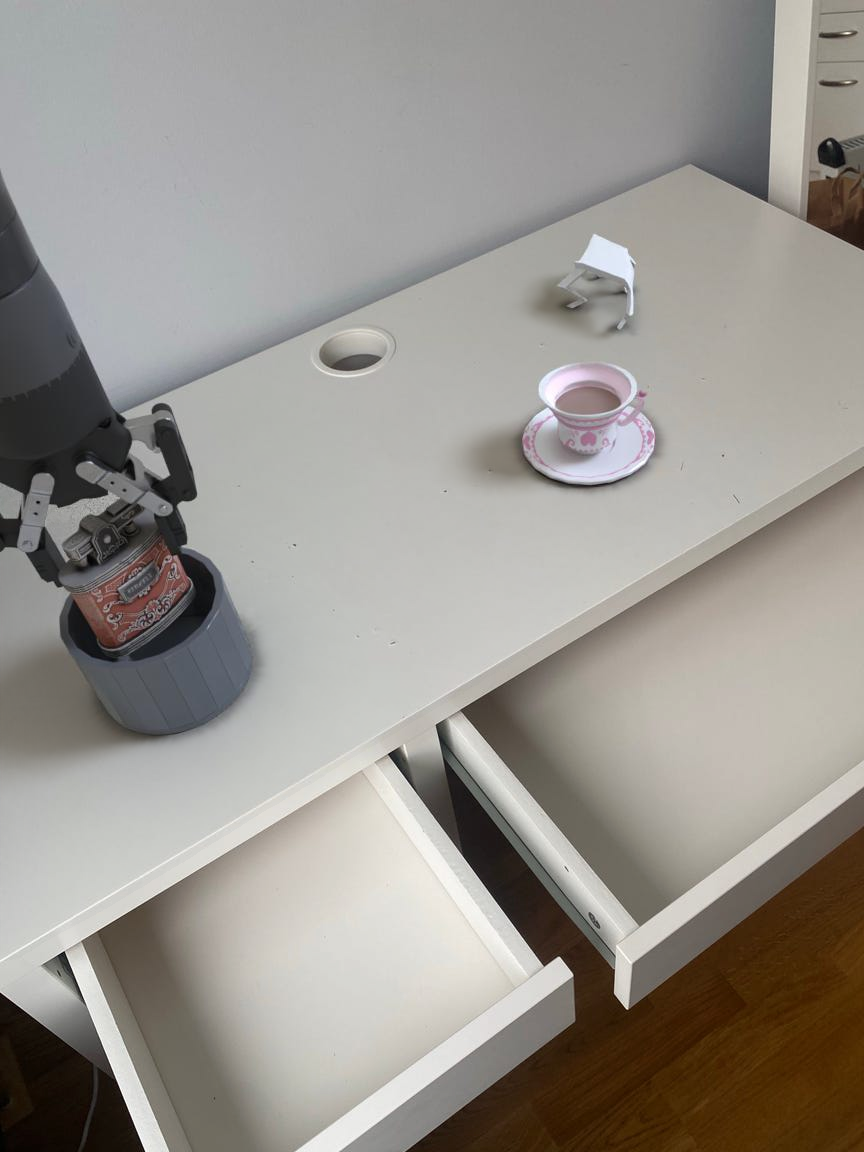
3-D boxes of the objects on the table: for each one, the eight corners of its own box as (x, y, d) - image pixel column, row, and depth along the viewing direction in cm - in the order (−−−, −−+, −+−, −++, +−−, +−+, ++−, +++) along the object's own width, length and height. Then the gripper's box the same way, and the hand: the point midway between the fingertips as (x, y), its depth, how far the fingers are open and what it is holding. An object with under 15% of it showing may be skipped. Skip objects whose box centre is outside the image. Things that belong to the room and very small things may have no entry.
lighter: (121, 665, 68) (62, 566, 60) (91, 644, 69) (30, 545, 61) (206, 593, 72) (161, 491, 64) (176, 575, 73) (128, 473, 65)
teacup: (521, 490, 85) (518, 433, 80) (522, 405, 93) (519, 349, 88) (660, 484, 84) (665, 427, 79) (649, 399, 92) (653, 342, 87)
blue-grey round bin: (107, 754, 71) (62, 688, 65) (98, 639, 78) (56, 570, 72) (263, 707, 72) (234, 639, 66) (240, 599, 79) (211, 528, 73)
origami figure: (541, 294, 105) (540, 251, 101) (605, 268, 107) (606, 225, 103) (607, 346, 98) (608, 302, 94) (674, 317, 100) (677, 272, 96)
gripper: (135, 288, 56) (217, 499, 69) (-121, 347, 55) (12, 554, 67) (146, 358, 52) (232, 571, 64) (-133, 426, 50) (12, 632, 63)
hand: (119, 562), depth 66 cm, fingers closed on lighter, 7 cm apart
